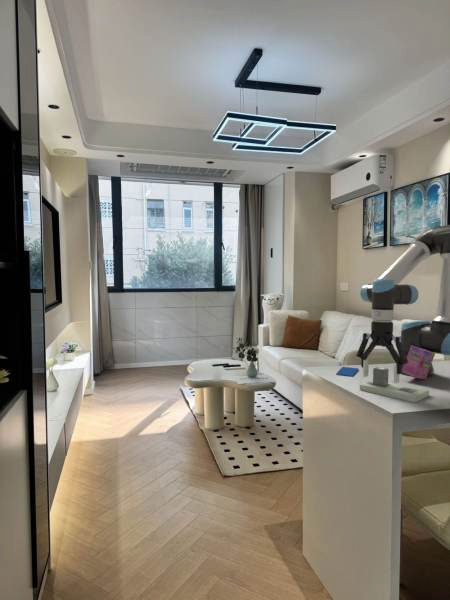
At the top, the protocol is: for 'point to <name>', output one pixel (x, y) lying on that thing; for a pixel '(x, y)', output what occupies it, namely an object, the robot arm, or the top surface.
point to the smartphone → (347, 371)
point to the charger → (380, 376)
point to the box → (418, 362)
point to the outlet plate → (396, 391)
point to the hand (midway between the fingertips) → (380, 379)
